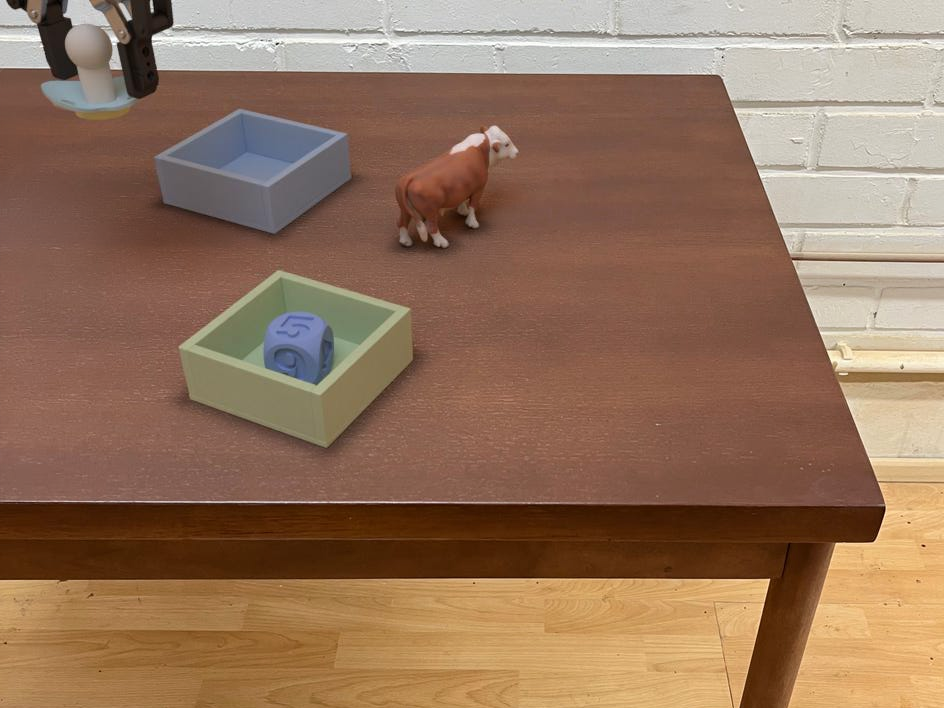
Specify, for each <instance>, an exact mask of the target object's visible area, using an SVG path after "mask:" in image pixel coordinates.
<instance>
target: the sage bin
mask: <svg viewBox="0 0 944 708" xmlns="http://www.w3.org/2000/svg"><path fill="white" fill-rule="evenodd" d="M291 312H308V313H312V314H315V315H317V316H319V317H320V318H322V319H323V320H324V321H325V322H326V323H327V324H328V325H329V326H330V327H331V329H332V332H333V337H334V356H333V363H332V368H331V371H330V374H329V375H327V376H326V377H325V378H324V379H323V380H322V381H321V382H320V383H319V384H318V385H314V384H311V383H308V382H305V381H302V380H299V379H296V378H293V377H290V376H287V375H284V374H281V373H278V372H275V371H272V370H269V369H266V368H265V364H264V355H263V350H264V339H265V334H266V331H267V328H268V326H269V324H270V323H271V322H272V321H273V320H274V319H275V318H277V317H279V316H281V315H283V314H286V313H291ZM412 324H413V323H412V307H411V308H410V307H407V306H404V305H401V304H396V303H393V302H390V301H387V300H384V299H379V298H376V297H373V296H369V295H366V294H363V293H359V292H356V291H352V290H350V289H346V288H342V287H338V286H335V285H332V284H328V283H325V282H322V281H319V280H315V279H312V278H308V277H305V276H301V275H297V274H294V273H290V272H287V271H284V270H281V269H278V270H276V271H275V272H274V273H272V274H271V275H270V276H268V277H267V278H266V279H264V280H263V281H262V282H261V283H259V284H258V285H257V286H255V287H254V288H252V289H251V290H250V291H249V292H247V293H246V294H245V295H244V296H242V297H241V298H240V299H238V300H237V301H235V302H234V303H233V304H231V306H230V307H228V308H227V309H225V310H224V311H223V312H222V313H220V314H219V315H218V316H217V317H215V318H214V319H212V320H211V321H210V322H209V323H207V324H206V325H204V327H202V328H201V329H200V330H198V331H197V332H195V333H194V334H192V336H190V337H189V338H188V339H186V340H184V342H182V343H181V344H180V345H179V346H178V348H177V349H178V353H179V357H180V362H181V365H182V370H183V375H184V379H185V383H186V388H187V392H188V397H189V400H191V401H193V402H196V403H199V404H203V405H205V406H207V407H210V408H214V409H216V410H219V411H222V412H224V413H227V414H230V415H233V416H235V417H239V418H241V419H244V420H247V421H250V422H253V423H255V424H258V425H260V426H263V427H266V428H269V429H271V430H275V431H278V432H280V433H283V434H286V435H288V436H291V437H294V438H296V439H300V440H302V441H305V442H308V443H311V444H313V445H316V446H319V447H322V448H324V449H328V448H329V447H330V446H331V444H332V443H334V441H335V440H336V439H338V438H339V437H340V435H341V434H343V433H344V431H345V430H346V429H347V428H348V427H349V426H350V425H351V424H352V423H353V422H354V421H355V420H356V419H358V417H360V415H361V414H362V413H363V412H364V411H365V410H366V409H367V408H368V407H369V406H370V405H371V404H372V403H373V401H375V400H376V399H377V398H378V397H379V396H380V395H381V393H383V391H384V390H385V389H386V388H387V387H388V386H390V384H391V383H392V382H393V381H394V380H395V379H396V378H397V377H398V376H399V375H400V374H401V373H402V372H403V371H404V370H405V369H407V367H408V366H409V365H410V364H411V363H412V361H414V346H413V326H412Z"/></svg>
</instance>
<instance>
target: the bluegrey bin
mask: <svg viewBox="0 0 944 708" xmlns="http://www.w3.org/2000/svg"><path fill="white" fill-rule="evenodd" d="M348 135H349V134H348V133H346V132H342V131H337V130H333V129H330V128H325V127H320V126H317V125H311V124H308V123H302V122H298V121H295V120H291V119H287V118H286V119H285V118H282V117H276V116H272V115H269V114H264V113H259V112H255V111H251V110H247V109H243V108H238V109H236V110H235V111H233V112H230V113H229V114H228V115H225V116H224V117H222V118H220V119H218V120H217V121H214V122H213V123H212V124H210V125H208V126H206V127H205V128H202V129H201V130H199V131H197V132H195V133H193V134H192V135H190V136H189V137H186V138H185V139H183V140H182V141H179V142H177V143H176V144H174V145H172V146H170V147H169V148H167V149H166V150H164V151H162V152H160V153H158V154H157V155H155V156H154V157H153V160H154V164H155V165H154V166H155V169H156V174H157V178H158V179H157V180H158V183H159V188H160V193H161V196H162V201H163V204H166V205H170V206H172V207H176V208H179V209H184V210H187V211H191V212H194V213H197V214H201V215H206V216H208V217H212V218H215V219H219V220H223V221H227V222H231V223H234V224H237V225H239V226H240V225H241V226H244V227H248V228H252V229H255V230H258V231H262V232H265V233H269V234H273V235H275V234H277V233H279V231H281V230H282V229H284V228H285V227H287V226H288V225H289V224H291V223H292V222H294V220H296V219H298V218H299V217H300V216H301V215H303V214H304V213H306V212H307V211H309V210H310V209H312V208H313V207H314V206H315V205H317V204H318V203H320V202H321V201H323V200H324V199H325V198H327V197H328V196H329V195H331V194H332V193H333V192H335V191H336V190H337V189H339V188H341V186H343V185H344V184H346V183H347V182H348V181H350V180H352V174H351V173H352V171H351V159H350V149H349V148H350V147H349V136H348Z"/></svg>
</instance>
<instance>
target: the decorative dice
mask: <svg viewBox="0 0 944 708" xmlns="http://www.w3.org/2000/svg"><path fill="white" fill-rule="evenodd" d="M263 355H264V364H265V368H266V369H269V370H272V371H275V372H278V373H281V374H284V375H287V376H290V377H293V378H296V379H299V380H302V381H305V382H308V383H311V384H314V385H318V384H319V383H320V382H321V381H322V380H323V379H324V378H325V377H326V376H327V375H329V374H330V371H331V368H332V363H333V356H334V337H333V332H332V329H331V327H330V326H329V325H328V324H327V323H326V322H325V321H324V320H323V319H322V318H320V317H319V316H317V315H315V314H312V313H308V312H291V313H286V314H283V315H281V316H279V317H277V318H275V319H274V320H273V321H272V322H271V323H270V324H269V326H268V328H267V331H266V334H265V339H264V350H263Z"/></svg>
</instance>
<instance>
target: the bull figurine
mask: <svg viewBox="0 0 944 708" xmlns="http://www.w3.org/2000/svg"><path fill="white" fill-rule="evenodd" d="M479 130H480V133H478V132H477V133H472V134H470V135H468V136H467V137H466V138H465V139H464V140H462V141H461V142H459V143H457V144H455V145H453V146H451V147H450V148H449V149H447V151H445V152H444V153H443V154H441V155H440V156H438V157H435V158H434V159H432V160H430V161H428V162H427V163H423V164H422V165H419V166H417V167H415V168H414V169H412V170H411V171H409V172H407V173H405V174H404V175H402V176H401V177H400V179H399V180H398V181H397V183H396V185H395V191H394V192H395V199H396V202H397V205H398V207H399V209H400V215H399V218H398V219H397V221H396V226H397V229H398V231H399V243H400V244H402V246H405V247H411V246H413V245H414V242H413V240H412V238H411V237H410V235H409V226H410V223H411V220H412V219H413V220H414V222H415V228H416V231H417V233H418V235H419V238H420V240H421V241H423V242H424V243H425V242H427V241H428V234H429V235H430V237H431V238H432V240H433V242H432V244H433V246H436V247H437V248H440V247H441V248H443V249H444V248H448V247H449V246H450V243H449V241H448V240H447V239H446V238H445V237H444V236H442V234H441V233H440V230H439V227H438V218H439V216H440V217H443V216H444V215H445V211H446V210H453V209H456V208H457V214H459V215H460V216H464V217H466V216H467V217H466V219H465V225H467V226H468V227H469V228H472V229H473V230H474V229H478V228H480V224H479V222H478V221H477V218H476V212H477V210H478V209H479V206H480V200H481V198H482V196H483V194H484V191H485V187H486V185H487V182H488V178H489V173H490V170H491V169H492V167H496V166H498V165H500V164H501V163H502V162H503V161H504V160H505V159H510V160H515V159H517V158H518V154H519V149H518V148H517V147H516V146H515V145H514V143H513V142H512V140H511V139H510V137H509V136H508V134H506V133H505V132H504V131H503V130H501V128H499V127H498V126H497V125H492V126H491V125H490V127H488V126H487V125H481V126H480V128H479ZM467 200H468V204H466V201H467ZM467 205H468V206H467Z"/></svg>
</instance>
